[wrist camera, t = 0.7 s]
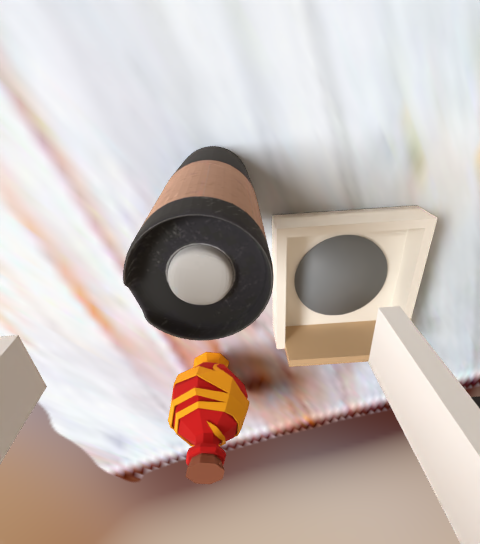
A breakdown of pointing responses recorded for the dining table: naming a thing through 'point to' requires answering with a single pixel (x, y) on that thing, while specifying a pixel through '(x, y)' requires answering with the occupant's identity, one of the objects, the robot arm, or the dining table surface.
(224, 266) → the travel mug
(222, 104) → the dining table surface
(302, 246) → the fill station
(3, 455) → the robot arm
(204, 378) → the potion bottle
